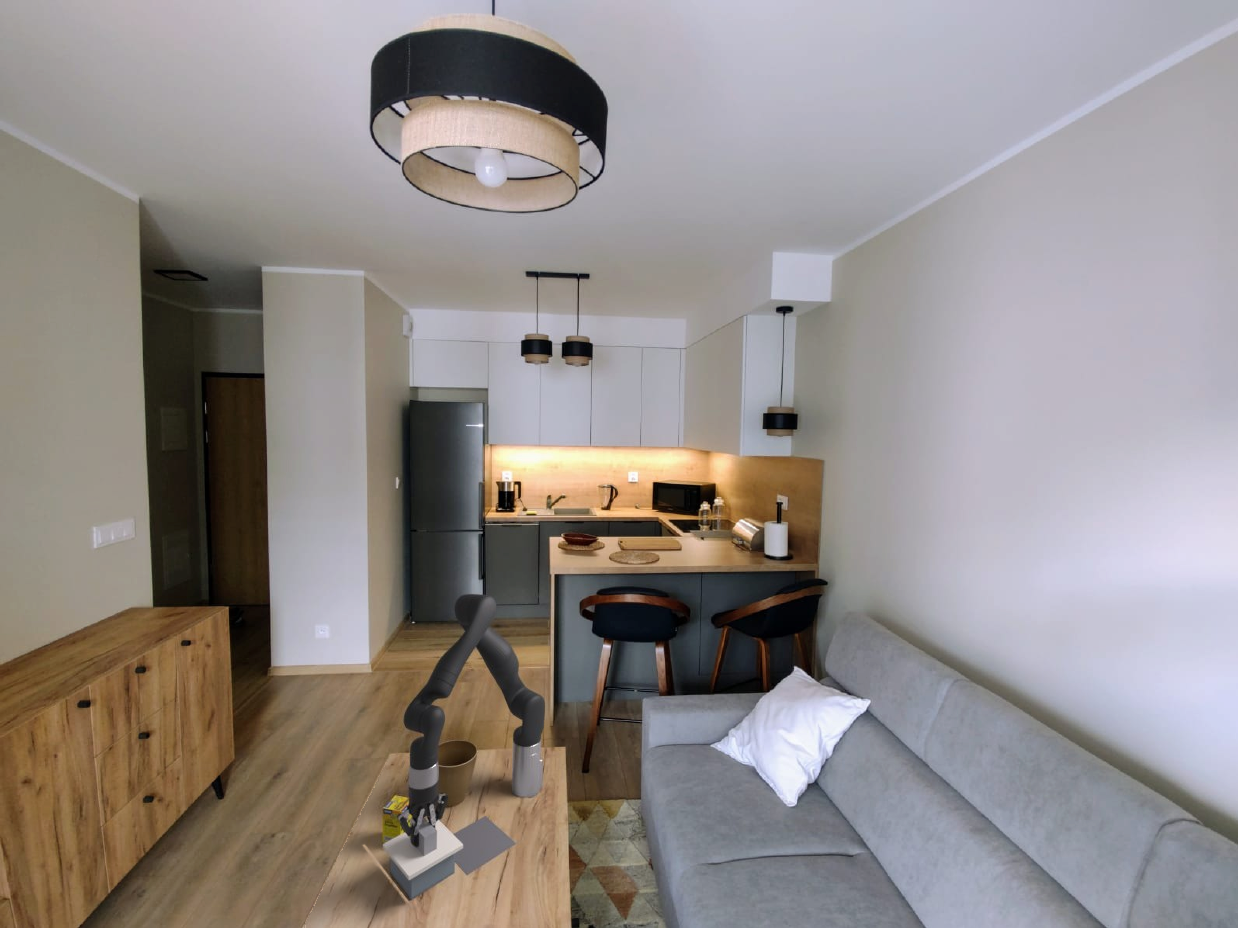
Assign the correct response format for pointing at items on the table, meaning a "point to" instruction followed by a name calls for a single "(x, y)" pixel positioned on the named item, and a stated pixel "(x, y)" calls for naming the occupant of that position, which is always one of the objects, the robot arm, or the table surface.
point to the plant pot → (456, 769)
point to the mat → (480, 844)
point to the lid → (422, 848)
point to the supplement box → (394, 818)
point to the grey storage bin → (423, 876)
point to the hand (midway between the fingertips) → (422, 840)
